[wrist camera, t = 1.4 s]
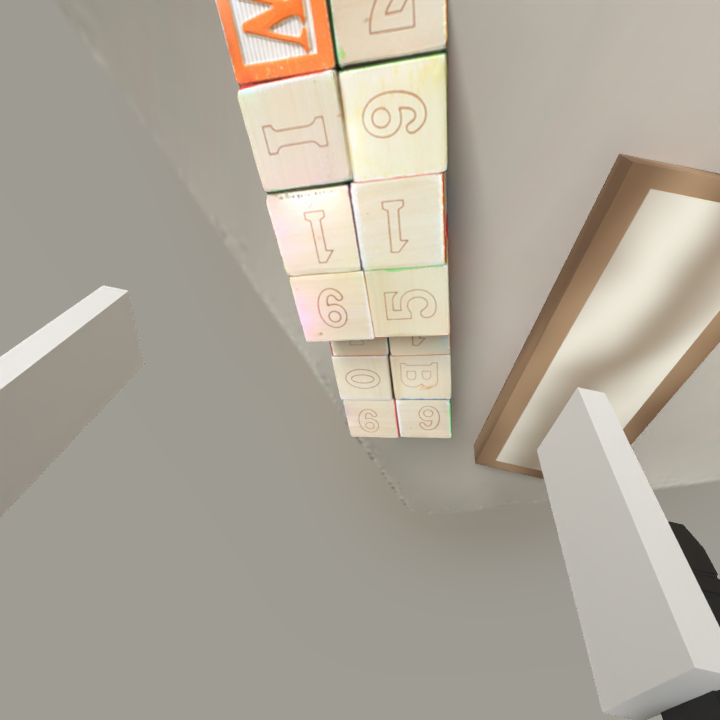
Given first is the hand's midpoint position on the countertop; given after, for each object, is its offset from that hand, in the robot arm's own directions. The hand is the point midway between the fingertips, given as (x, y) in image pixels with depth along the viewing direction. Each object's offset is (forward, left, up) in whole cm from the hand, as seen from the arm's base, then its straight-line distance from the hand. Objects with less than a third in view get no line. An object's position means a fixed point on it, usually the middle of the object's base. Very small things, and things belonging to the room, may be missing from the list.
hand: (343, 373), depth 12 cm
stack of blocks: (0, 0, -17) cm, 17 cm away
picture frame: (-16, +7, -16) cm, 24 cm away
